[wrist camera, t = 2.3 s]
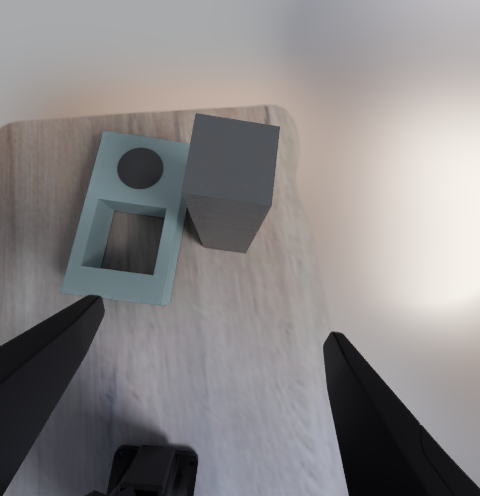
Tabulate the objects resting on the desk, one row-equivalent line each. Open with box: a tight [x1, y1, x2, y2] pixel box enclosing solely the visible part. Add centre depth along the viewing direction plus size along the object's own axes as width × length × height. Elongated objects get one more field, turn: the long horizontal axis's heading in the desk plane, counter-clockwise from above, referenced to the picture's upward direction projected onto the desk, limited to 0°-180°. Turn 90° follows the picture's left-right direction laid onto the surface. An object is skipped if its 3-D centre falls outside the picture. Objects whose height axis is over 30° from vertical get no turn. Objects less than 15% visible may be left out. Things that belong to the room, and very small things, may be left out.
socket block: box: [60, 131, 190, 305], centre depth 21 cm, size 14×8×3 cm, turn 173°
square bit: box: [181, 113, 280, 253], centre depth 17 cm, size 4×4×12 cm
